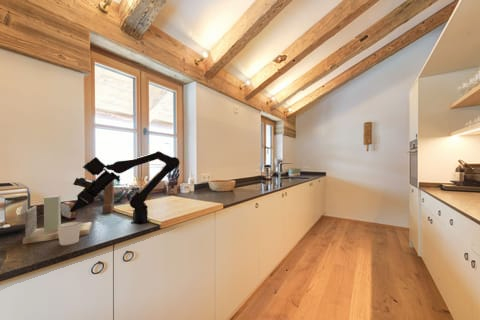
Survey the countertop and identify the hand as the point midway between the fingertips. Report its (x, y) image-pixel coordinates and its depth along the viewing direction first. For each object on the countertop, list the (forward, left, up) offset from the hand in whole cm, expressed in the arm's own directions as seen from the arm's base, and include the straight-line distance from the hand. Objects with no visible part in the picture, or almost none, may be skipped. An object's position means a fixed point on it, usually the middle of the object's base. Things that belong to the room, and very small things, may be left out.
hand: (72, 209), depth 91 cm
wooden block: (+17, -29, -10) cm, 35 cm away
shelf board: (+1, +4, -10) cm, 11 cm away
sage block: (+4, +5, -8) cm, 10 cm away
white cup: (-11, +8, -10) cm, 17 cm away
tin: (+26, -13, -10) cm, 31 cm away
